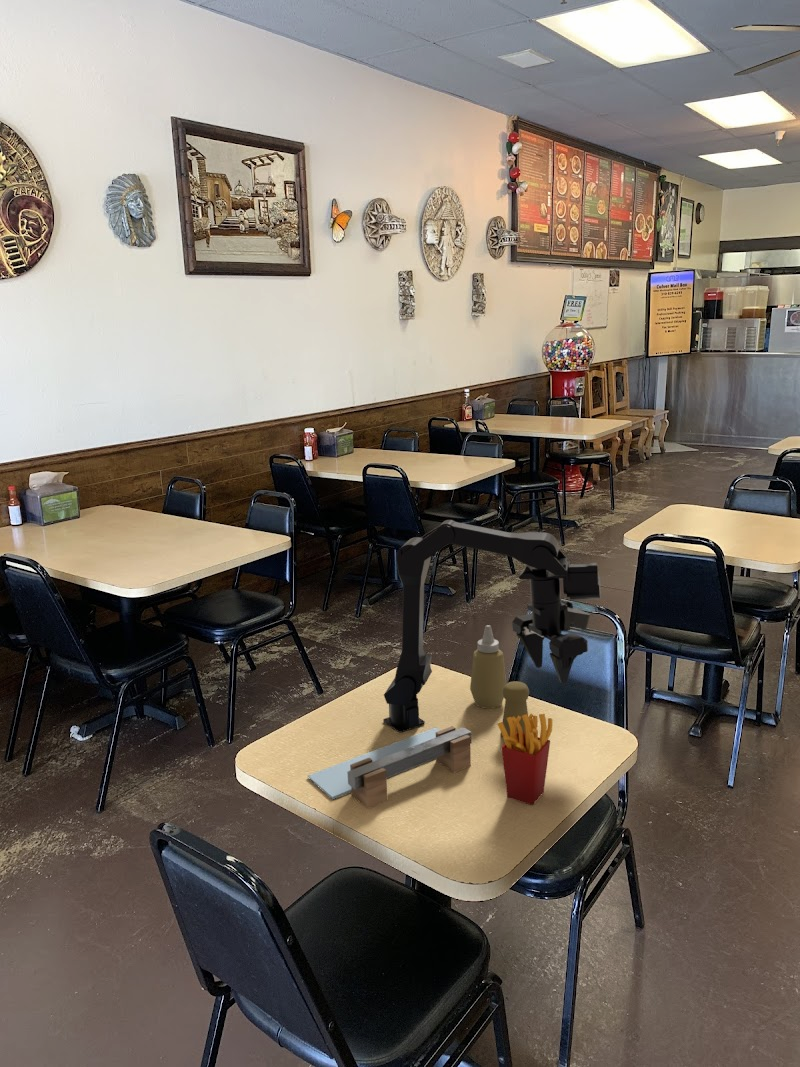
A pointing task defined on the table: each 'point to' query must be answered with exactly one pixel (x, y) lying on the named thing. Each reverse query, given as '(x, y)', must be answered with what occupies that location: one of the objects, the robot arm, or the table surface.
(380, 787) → the stand near
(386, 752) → the mat
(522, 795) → the french fries
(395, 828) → the table surface
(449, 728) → the stand far
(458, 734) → the rail
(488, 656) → the squeeze bottle
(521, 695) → the pepper mill
